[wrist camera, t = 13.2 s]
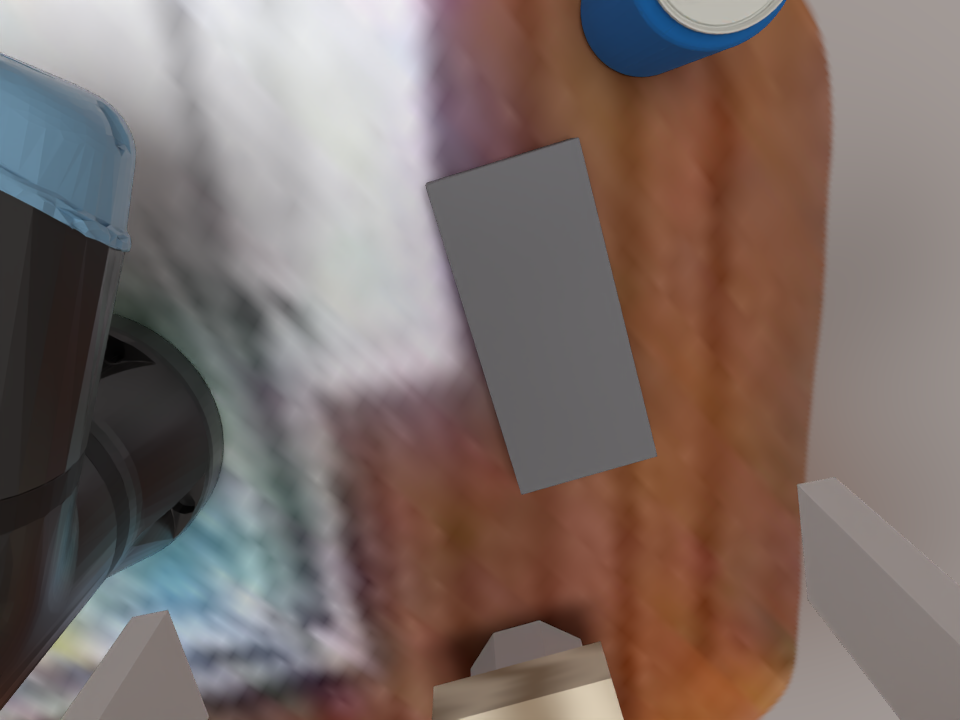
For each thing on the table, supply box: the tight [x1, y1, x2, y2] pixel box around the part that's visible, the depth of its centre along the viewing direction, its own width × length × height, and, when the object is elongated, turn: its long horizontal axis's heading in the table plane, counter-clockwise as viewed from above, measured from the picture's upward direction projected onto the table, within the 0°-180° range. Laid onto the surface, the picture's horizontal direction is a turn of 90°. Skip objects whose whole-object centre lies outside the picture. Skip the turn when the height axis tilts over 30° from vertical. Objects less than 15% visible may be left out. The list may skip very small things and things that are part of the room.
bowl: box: [471, 620, 583, 676], centre depth 45 cm, size 8×8×5 cm
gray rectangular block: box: [425, 138, 657, 494], centre depth 40 cm, size 8×18×2 cm, turn 17°
